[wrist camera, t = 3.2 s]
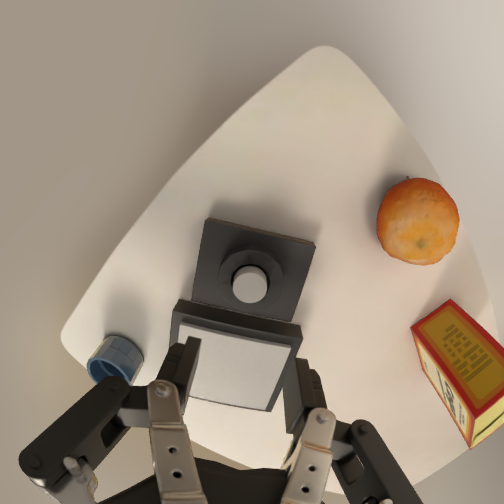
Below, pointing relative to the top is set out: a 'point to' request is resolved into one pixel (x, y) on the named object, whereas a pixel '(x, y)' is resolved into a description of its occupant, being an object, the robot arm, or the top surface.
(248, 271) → the button
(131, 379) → the cup
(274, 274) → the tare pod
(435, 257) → the fruit
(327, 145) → the top surface
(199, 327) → the scale
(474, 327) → the baking soda box
